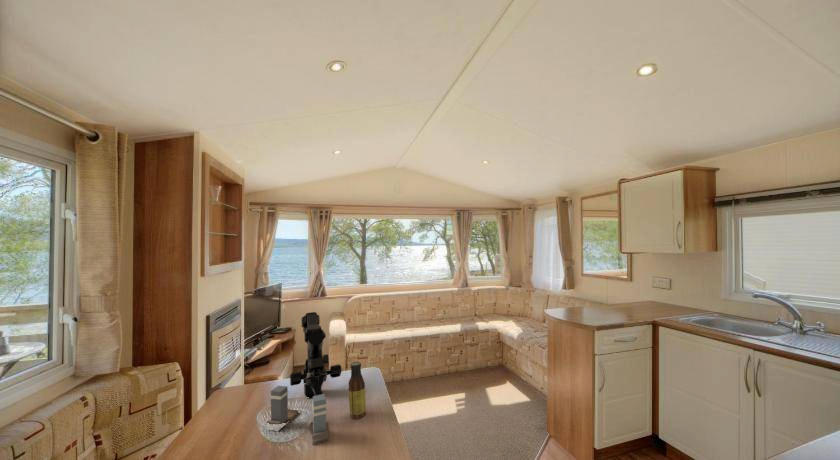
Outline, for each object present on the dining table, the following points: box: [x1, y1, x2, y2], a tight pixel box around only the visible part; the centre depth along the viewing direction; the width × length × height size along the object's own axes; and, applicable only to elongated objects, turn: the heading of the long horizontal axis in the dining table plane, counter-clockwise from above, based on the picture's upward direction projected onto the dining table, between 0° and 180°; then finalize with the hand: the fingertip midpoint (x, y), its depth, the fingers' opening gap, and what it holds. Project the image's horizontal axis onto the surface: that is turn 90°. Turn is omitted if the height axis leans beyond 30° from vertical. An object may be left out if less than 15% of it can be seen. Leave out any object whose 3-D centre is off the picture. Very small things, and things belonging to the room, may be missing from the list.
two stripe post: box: [311, 393, 327, 434], centre depth 105 cm, size 4×4×12 cm
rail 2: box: [310, 421, 329, 446], centre depth 107 cm, size 12×5×3 cm, turn 23°
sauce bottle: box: [348, 361, 367, 420], centre depth 118 cm, size 6×6×20 cm
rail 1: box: [266, 408, 300, 424], centre depth 114 cm, size 12×5×3 cm, turn 168°
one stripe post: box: [269, 385, 289, 424], centre depth 112 cm, size 4×4×12 cm
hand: (317, 397), depth 113 cm, fingers closed
